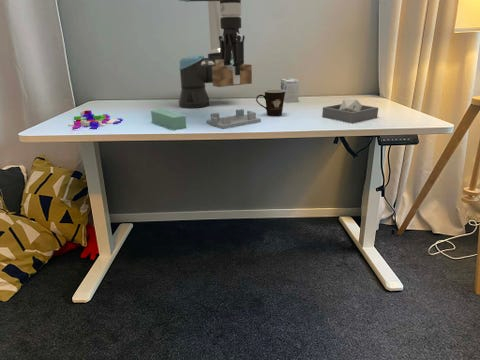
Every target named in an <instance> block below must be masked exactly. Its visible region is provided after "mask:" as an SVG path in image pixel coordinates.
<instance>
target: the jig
mask: <svg viewBox="0 0 480 360" xmlns="http://www.w3.org/2000/svg"><path fill="white" fill-rule="evenodd" d="M246 113H247V114H245V110H244V109H243V108H239V109H236V110H235V115H230V116H228V115H227V116H222V117H220V113H218V112H215V113H210V119H206V122H205V124H208V125H209V126H213V127H216V128H219V129H221V128H222V130H225V129H229V127H231V128H234V126H236V127H240V125H241V126H246V124H247V125H251V124H256V123H261V121H262V119H261V118H259V117H257V116H256V115H257V113H256V111H252V110H247V112H246ZM224 128H225V129H224Z"/></svg>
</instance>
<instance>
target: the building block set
mask: <svg viewBox="0 0 480 360" xmlns="http://www.w3.org/2000/svg"><path fill="white" fill-rule="evenodd" d="M94 119H95V120H94ZM74 120H76V121H74ZM122 122H124V119H123V118H118V117H117V118H111V116H110V115H109V114H107V113H103V114H94V113H92V109H90V110H89V109H88V110H87V109H86V110H82V111H81V112H80V115H75V116H73V122H69V123H68V126H69V125H71V126H70V127H72V130H73V129H78V128H79V129H81V128H82V127H81V126H86V127H88V126H89V130H90V129H92V130H98V129H99V128H98V127H106V126H107V125H118V124H121V123H122ZM105 125H106V126H105ZM90 126H91V127H90ZM80 127H81V128H80ZM97 128H98V129H97ZM79 129H78V130H79Z"/></svg>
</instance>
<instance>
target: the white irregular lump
mask: <svg viewBox="0 0 480 360" xmlns="http://www.w3.org/2000/svg"><path fill="white" fill-rule="evenodd" d="M340 104H341V106H340V108H339V110H343V111H348V112H356V111H360V109H361V107H362V105H363V104H362V103H361V102H360V101H359V100H358V99H357V98H355V97H346V98H343V100H342V102H341V103H340Z"/></svg>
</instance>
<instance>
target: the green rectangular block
mask: <svg viewBox="0 0 480 360" xmlns="http://www.w3.org/2000/svg"><path fill="white" fill-rule="evenodd" d="M150 113H151V122H152V124H156V125H159V126H161V127H164V128H167V129H170V130H172V129H173V130H172V131H178V130H184V129H187V119H186V115H185V114H181V113H179V112H178V113H177V112H174V111H169V110H167V109H163V108H159V109H153V110H150Z"/></svg>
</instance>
